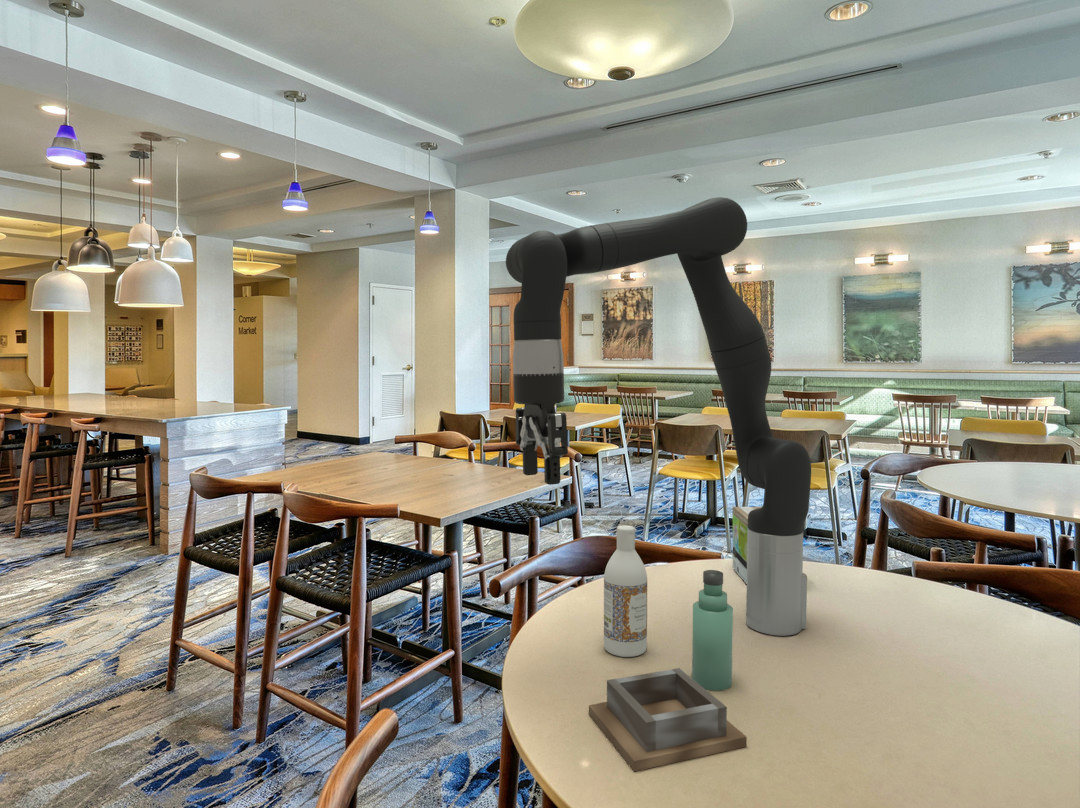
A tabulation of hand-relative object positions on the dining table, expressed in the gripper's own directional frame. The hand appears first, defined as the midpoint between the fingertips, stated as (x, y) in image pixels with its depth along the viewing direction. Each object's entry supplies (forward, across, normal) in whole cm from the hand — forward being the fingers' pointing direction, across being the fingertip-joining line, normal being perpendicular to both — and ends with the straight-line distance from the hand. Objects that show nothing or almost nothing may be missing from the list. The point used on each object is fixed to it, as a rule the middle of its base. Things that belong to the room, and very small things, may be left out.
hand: (541, 479), depth 97 cm
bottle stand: (+29, -22, -7) cm, 37 cm away
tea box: (+31, +19, -60) cm, 70 cm away
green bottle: (+29, -14, -20) cm, 38 cm away
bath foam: (+30, 0, -14) cm, 33 cm away
